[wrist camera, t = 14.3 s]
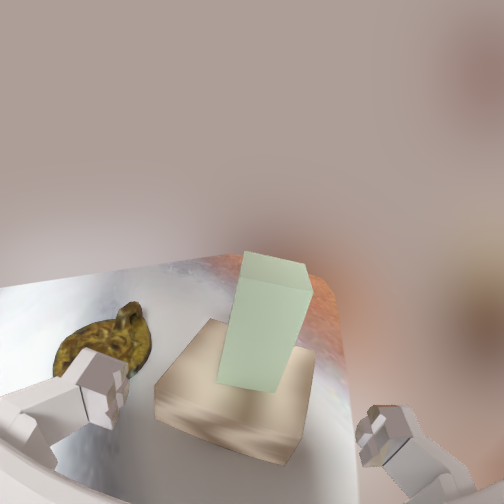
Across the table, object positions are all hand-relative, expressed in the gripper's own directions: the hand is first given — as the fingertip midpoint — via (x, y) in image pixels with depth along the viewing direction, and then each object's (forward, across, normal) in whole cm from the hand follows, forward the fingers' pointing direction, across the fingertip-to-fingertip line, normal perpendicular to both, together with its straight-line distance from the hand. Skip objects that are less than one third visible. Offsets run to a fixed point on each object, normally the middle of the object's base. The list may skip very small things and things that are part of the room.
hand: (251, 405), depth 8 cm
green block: (+14, -2, +11) cm, 18 cm away
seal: (+16, +13, +16) cm, 26 cm away
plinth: (+14, -2, +16) cm, 21 cm away
